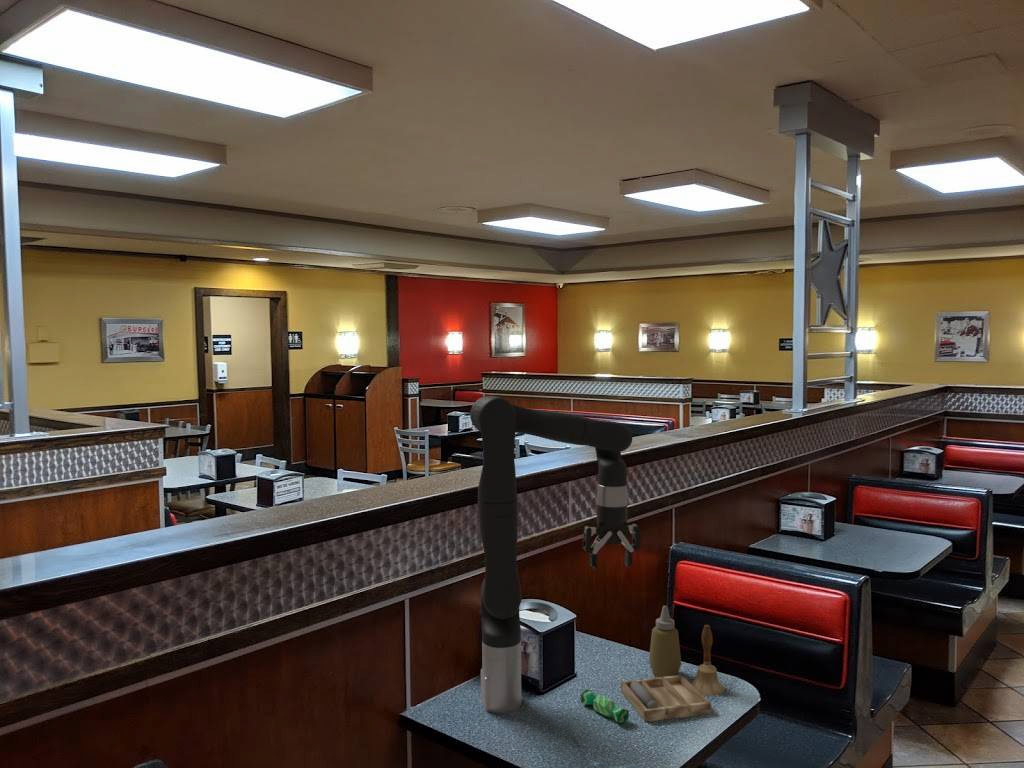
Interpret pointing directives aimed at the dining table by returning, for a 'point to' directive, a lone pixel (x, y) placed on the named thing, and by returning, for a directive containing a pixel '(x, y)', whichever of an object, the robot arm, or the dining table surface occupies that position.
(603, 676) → the dining table surface
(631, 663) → the dining table surface
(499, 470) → the robot arm
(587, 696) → the candy
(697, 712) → the wooden compartment tray
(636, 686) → the grey capsule rod
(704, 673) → the hand bell
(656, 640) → the squeeze bottle
